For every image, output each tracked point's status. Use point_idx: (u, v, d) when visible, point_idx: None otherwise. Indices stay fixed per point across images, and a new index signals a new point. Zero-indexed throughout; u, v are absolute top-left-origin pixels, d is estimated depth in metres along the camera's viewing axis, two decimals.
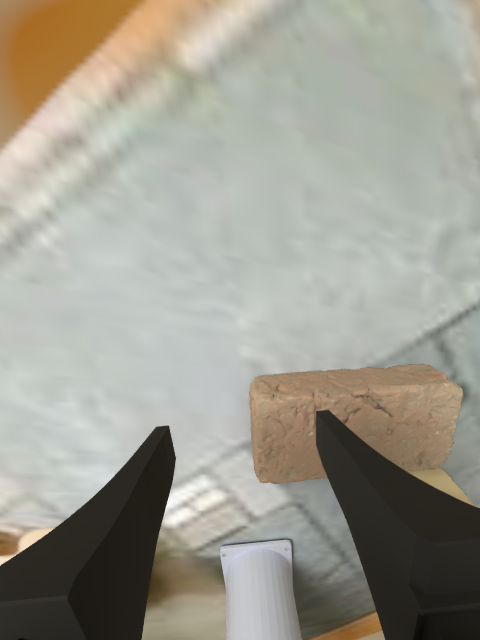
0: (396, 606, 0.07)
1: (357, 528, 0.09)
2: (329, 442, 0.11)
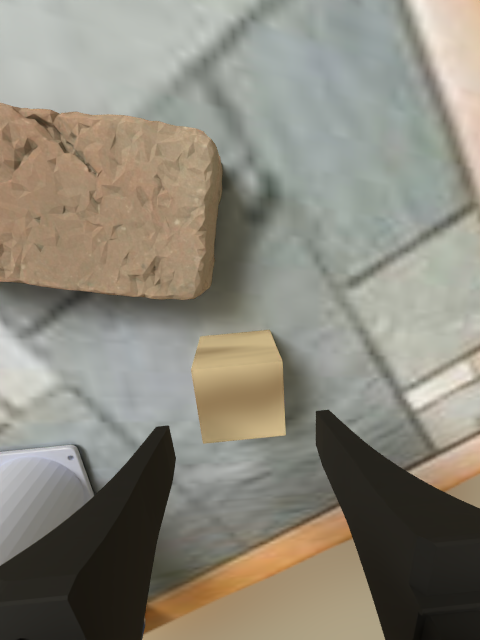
0: (396, 606, 0.07)
1: (357, 528, 0.09)
2: (329, 442, 0.11)
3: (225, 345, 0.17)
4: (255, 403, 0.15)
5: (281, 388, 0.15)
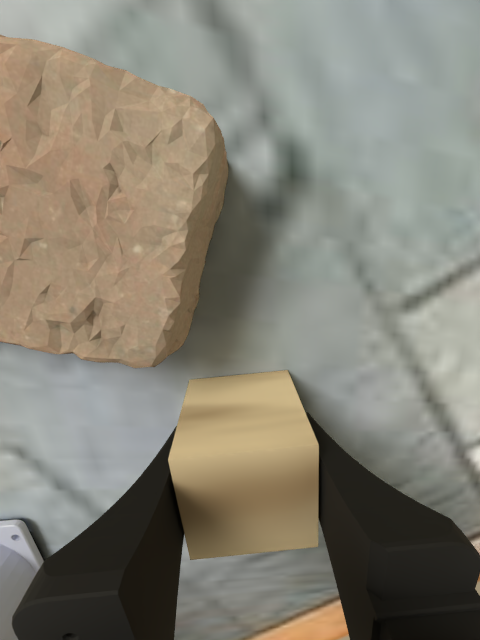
0: (358, 610, 0.07)
1: (328, 531, 0.09)
2: None
3: (224, 400, 0.12)
4: (272, 504, 0.10)
5: (315, 484, 0.09)
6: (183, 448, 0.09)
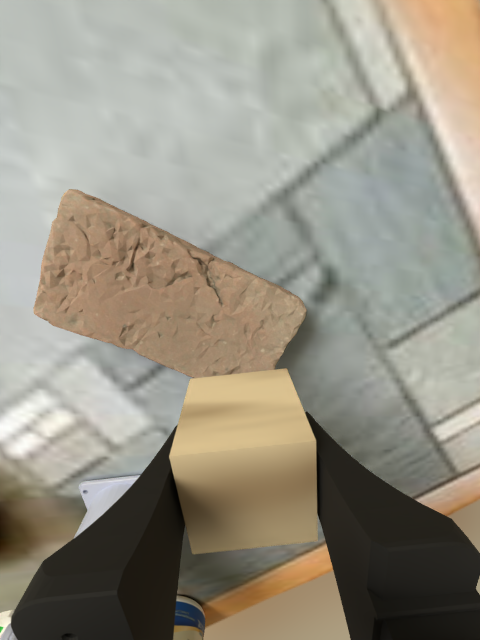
0: (358, 610, 0.07)
1: (328, 531, 0.09)
2: None
3: (224, 399, 0.12)
4: (272, 499, 0.10)
5: (313, 479, 0.10)
6: (184, 445, 0.09)
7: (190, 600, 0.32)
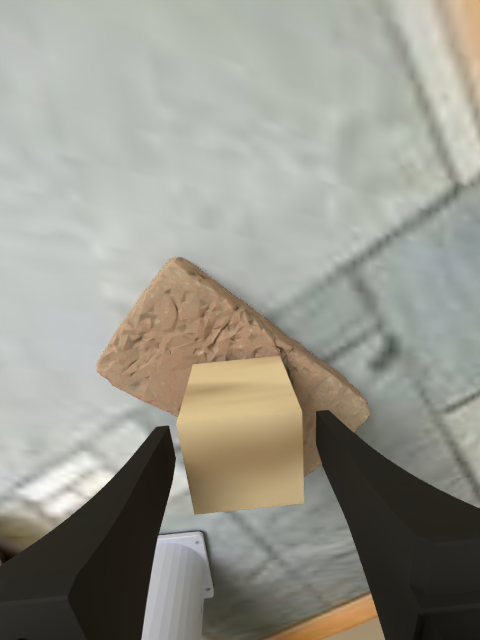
0: (396, 606, 0.07)
1: (357, 528, 0.09)
2: (329, 442, 0.11)
3: (223, 380, 0.13)
4: (264, 464, 0.11)
5: (300, 446, 0.11)
6: (188, 415, 0.11)
7: None
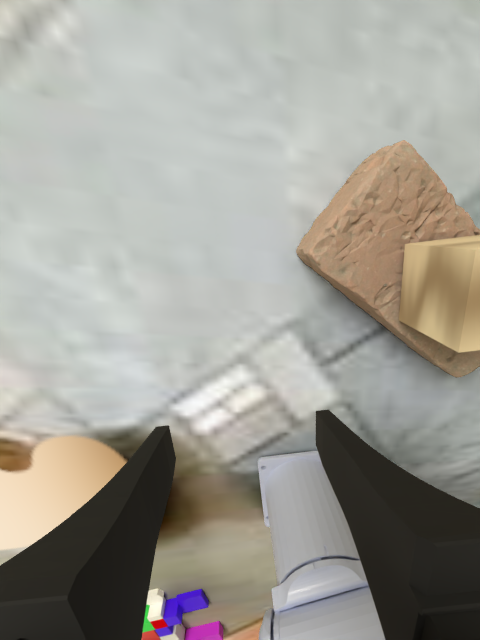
0: (396, 606, 0.07)
1: (357, 528, 0.09)
2: (329, 442, 0.11)
3: (462, 241, 0.14)
4: None
5: None
6: (477, 248, 0.12)
7: None
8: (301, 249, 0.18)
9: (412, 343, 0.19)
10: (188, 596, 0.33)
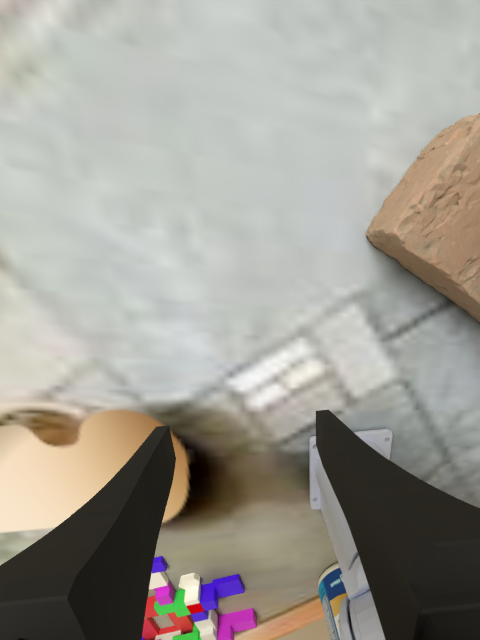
0: (396, 606, 0.07)
1: (357, 528, 0.09)
2: (329, 442, 0.11)
3: None
4: None
5: None
6: None
7: None
8: (379, 230, 0.18)
9: None
10: (225, 580, 0.32)
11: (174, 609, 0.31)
